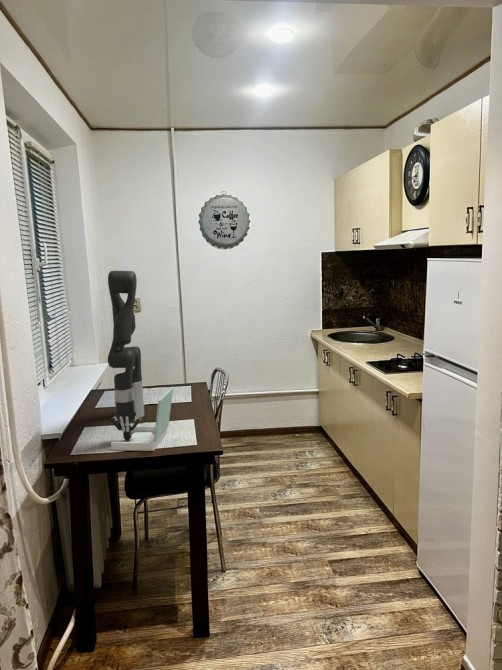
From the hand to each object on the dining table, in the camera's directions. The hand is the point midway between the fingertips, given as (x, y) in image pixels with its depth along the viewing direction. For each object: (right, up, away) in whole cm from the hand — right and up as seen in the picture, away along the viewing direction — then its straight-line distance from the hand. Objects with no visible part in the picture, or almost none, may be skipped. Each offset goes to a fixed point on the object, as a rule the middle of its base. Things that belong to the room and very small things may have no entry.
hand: (127, 439), depth 198 cm
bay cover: (+15, +11, -4) cm, 19 cm away
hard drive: (+5, -1, +1) cm, 6 cm away
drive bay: (+6, 0, 0) cm, 6 cm away
